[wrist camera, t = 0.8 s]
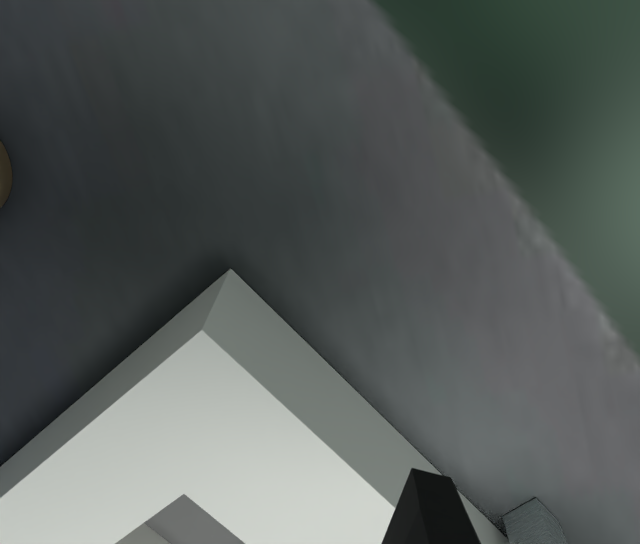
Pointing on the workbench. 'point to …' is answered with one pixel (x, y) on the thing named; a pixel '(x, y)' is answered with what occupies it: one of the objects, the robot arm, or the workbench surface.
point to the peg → (4, 175)
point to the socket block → (215, 444)
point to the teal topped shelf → (533, 525)
